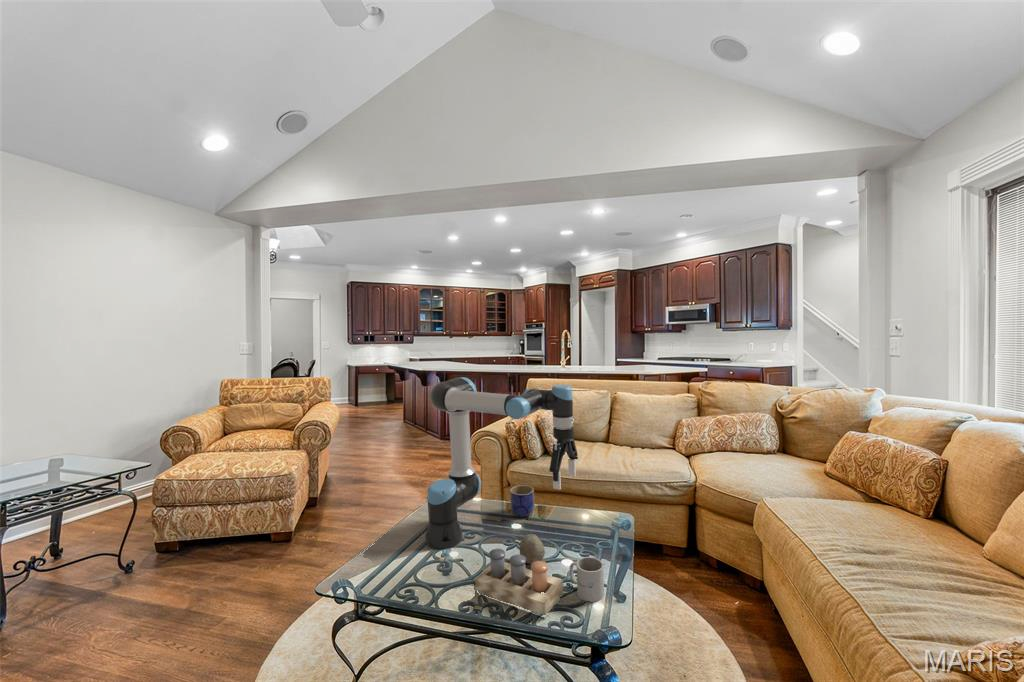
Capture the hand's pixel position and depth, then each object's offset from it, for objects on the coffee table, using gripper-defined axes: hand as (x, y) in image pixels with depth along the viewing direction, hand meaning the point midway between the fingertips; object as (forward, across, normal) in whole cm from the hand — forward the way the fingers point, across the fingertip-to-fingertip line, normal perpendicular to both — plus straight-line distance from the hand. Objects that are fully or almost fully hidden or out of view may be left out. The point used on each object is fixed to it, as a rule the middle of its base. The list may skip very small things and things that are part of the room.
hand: (564, 482), depth 169 cm
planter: (+28, +21, +31) cm, 47 cm away
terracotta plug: (+23, -29, -4) cm, 37 cm away
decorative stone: (+28, -11, +9) cm, 32 cm away
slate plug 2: (+23, -29, +4) cm, 37 cm away
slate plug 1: (+23, -29, +12) cm, 39 cm away
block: (+28, -29, +4) cm, 41 cm away
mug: (+28, -17, -15) cm, 36 cm away
